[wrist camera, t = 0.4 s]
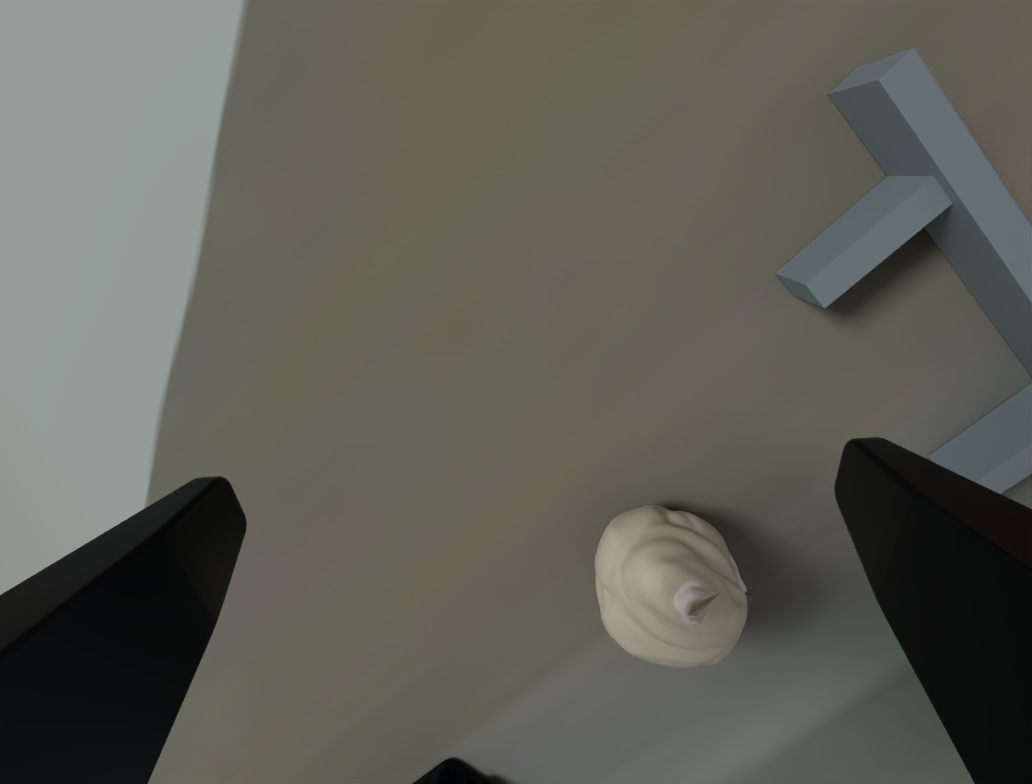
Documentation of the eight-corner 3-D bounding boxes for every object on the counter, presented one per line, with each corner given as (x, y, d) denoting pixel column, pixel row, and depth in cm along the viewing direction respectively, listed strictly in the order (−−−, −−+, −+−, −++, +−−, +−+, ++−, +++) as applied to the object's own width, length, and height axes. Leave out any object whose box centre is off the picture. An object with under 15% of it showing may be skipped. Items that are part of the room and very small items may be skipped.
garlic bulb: (747, 513, 26) (839, 649, 18) (679, 615, 28) (737, 775, 20) (617, 462, 25) (659, 583, 18) (557, 572, 27) (572, 722, 20)
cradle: (984, 526, 26) (1040, 568, 23) (714, 200, 21) (743, 203, 18) (1116, 440, 24) (1194, 474, 22) (856, 66, 20) (913, 47, 17)
